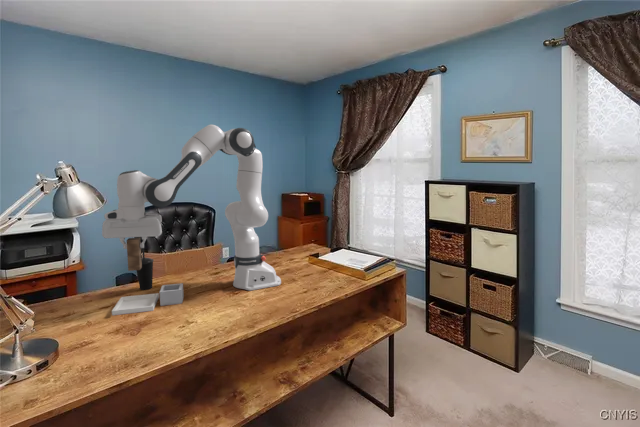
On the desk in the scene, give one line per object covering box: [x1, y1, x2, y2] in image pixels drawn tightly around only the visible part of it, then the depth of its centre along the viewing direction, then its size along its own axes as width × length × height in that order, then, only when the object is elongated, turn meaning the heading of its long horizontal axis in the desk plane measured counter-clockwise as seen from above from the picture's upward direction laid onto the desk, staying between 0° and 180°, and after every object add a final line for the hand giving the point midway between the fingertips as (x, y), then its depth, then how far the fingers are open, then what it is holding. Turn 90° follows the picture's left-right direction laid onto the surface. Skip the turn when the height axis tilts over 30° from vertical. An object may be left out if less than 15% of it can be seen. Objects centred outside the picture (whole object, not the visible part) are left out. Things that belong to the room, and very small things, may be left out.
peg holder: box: [159, 283, 184, 307], centre depth 141 cm, size 8×8×6 cm
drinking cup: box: [136, 247, 154, 291], centre depth 154 cm, size 8×8×20 cm
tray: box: [111, 292, 160, 316], centre depth 136 cm, size 14×14×2 cm
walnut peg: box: [126, 237, 142, 272], centre depth 133 cm, size 4×4×12 cm
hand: (134, 248), depth 133 cm, fingers closed on walnut peg, 4 cm apart
